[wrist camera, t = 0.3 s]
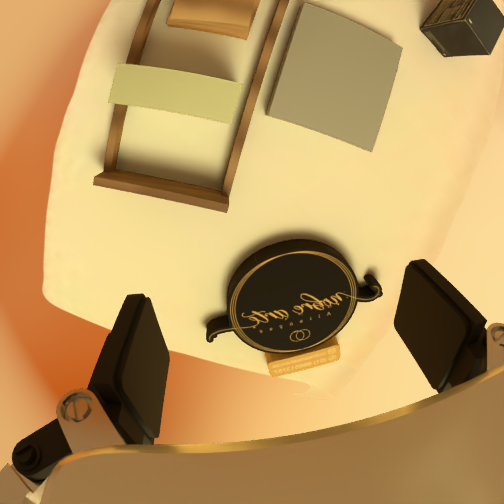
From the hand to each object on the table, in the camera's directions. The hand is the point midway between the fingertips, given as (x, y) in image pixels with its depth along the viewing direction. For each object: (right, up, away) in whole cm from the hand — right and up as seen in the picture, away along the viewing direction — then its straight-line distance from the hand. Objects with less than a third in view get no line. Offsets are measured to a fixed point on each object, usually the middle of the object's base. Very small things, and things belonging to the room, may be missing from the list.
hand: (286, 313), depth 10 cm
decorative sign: (+6, -7, +38) cm, 39 cm away
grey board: (+9, +24, +21) cm, 34 cm away
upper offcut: (-5, +32, +15) cm, 35 cm away
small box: (+29, +37, +17) cm, 50 cm away
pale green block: (-9, +21, +22) cm, 32 cm away
